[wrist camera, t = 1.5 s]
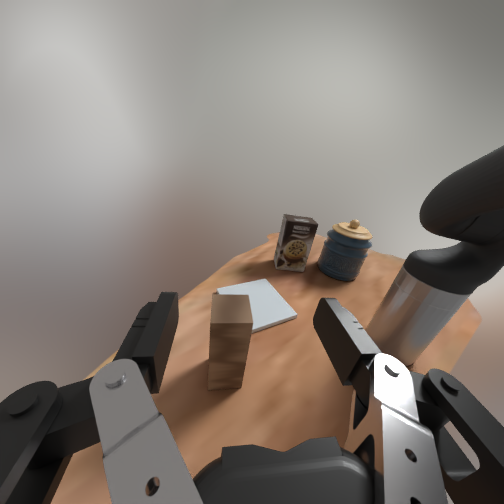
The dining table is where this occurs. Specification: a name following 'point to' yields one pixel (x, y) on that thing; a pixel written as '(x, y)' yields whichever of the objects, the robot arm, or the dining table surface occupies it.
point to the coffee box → (294, 242)
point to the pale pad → (262, 303)
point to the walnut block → (229, 340)
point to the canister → (345, 251)
